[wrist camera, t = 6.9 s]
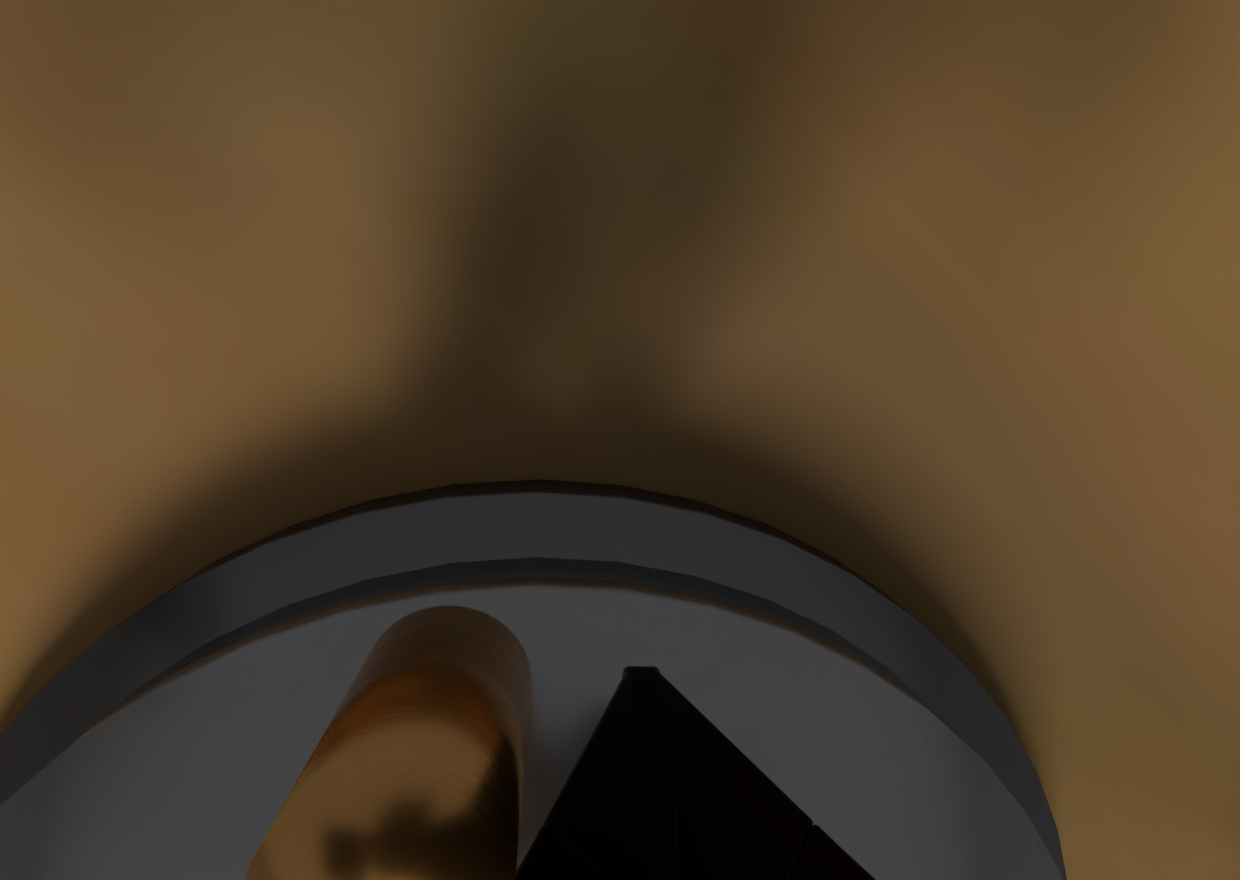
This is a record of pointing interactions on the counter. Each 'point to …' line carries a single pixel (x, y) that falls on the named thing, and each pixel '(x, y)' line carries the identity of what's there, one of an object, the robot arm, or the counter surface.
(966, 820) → the turntable
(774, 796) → the robot arm
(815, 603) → the turntable base
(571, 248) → the counter surface
